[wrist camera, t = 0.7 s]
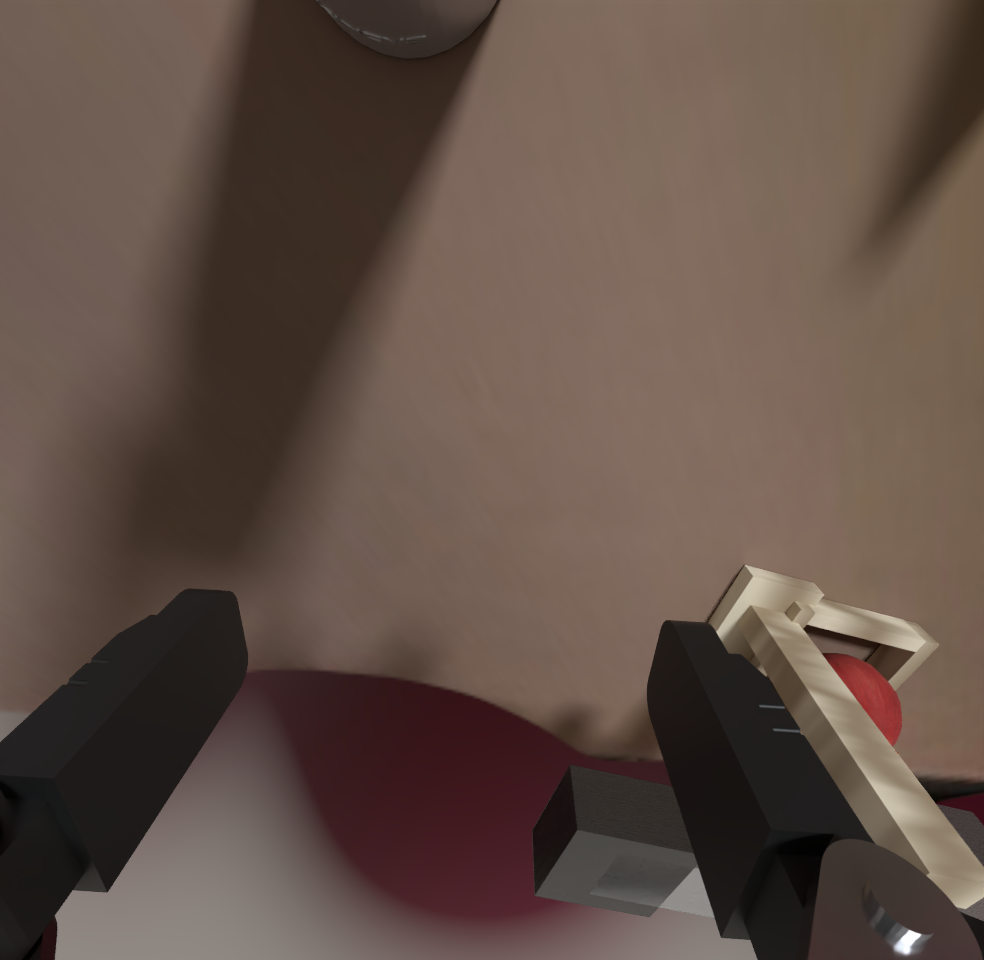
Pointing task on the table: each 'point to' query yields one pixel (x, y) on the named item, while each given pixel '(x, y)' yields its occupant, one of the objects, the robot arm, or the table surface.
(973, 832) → the lever
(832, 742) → the press stand
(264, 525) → the table surface
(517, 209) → the table surface
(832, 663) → the onion
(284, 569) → the table surface
